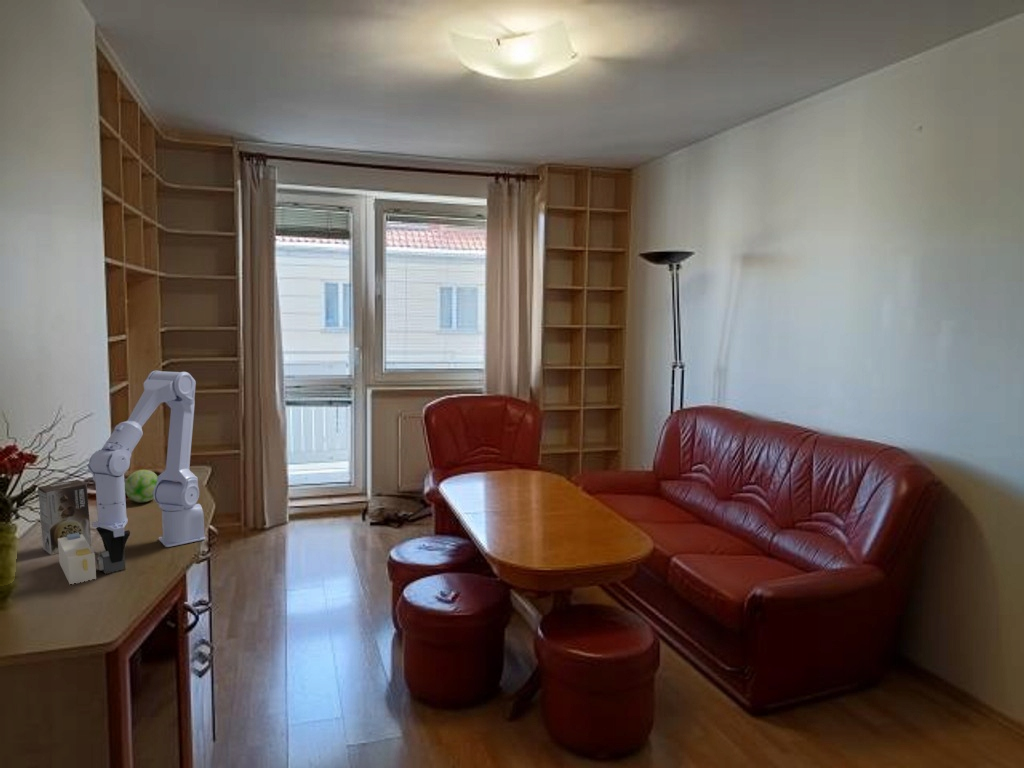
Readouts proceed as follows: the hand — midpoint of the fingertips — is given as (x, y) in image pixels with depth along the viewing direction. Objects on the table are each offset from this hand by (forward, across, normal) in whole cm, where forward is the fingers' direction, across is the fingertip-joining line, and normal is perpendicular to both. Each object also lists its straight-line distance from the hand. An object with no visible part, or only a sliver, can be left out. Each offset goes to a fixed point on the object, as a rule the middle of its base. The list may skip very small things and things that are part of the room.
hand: (114, 558), depth 160 cm
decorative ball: (+3, -54, +18) cm, 57 cm away
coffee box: (+3, -23, -6) cm, 24 cm away
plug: (+2, 0, 0) cm, 2 cm away
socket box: (+2, -4, -7) cm, 8 cm away
